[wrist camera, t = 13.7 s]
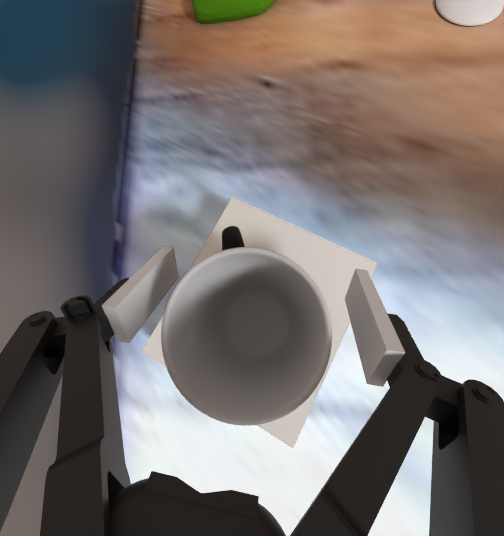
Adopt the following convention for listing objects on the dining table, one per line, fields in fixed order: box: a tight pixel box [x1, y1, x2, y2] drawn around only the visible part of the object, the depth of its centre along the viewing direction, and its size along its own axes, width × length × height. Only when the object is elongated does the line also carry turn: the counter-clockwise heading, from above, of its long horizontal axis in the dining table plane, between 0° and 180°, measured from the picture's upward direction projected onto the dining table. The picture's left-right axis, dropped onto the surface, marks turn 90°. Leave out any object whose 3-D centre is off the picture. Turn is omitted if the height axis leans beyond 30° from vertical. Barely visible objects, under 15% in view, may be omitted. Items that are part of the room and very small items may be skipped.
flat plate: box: [142, 197, 377, 448], centre depth 24 cm, size 18×16×4 cm
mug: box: [161, 226, 332, 425], centre depth 17 cm, size 12×9×10 cm
